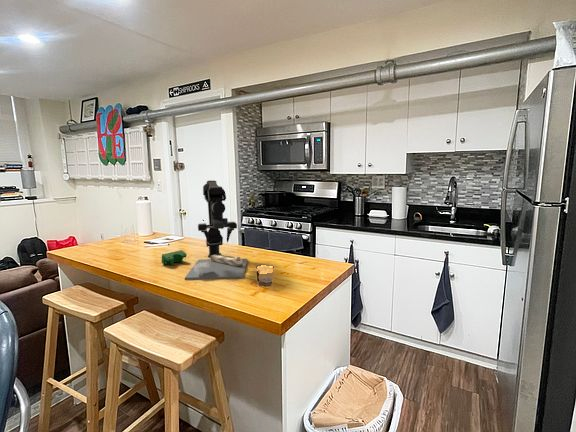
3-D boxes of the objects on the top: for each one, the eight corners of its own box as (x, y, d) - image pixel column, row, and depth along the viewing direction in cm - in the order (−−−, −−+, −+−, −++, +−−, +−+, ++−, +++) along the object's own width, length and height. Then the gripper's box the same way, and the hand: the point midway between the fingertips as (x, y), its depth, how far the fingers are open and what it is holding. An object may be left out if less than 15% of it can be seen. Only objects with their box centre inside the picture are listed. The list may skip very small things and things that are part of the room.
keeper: (208, 271, 151) (208, 261, 150) (214, 275, 146) (214, 264, 145) (193, 275, 147) (192, 264, 146) (199, 279, 141) (198, 268, 140)
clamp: (170, 274, 162) (164, 261, 157) (164, 269, 165) (158, 256, 160) (190, 261, 169) (185, 248, 164) (183, 256, 172) (179, 243, 167)
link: (244, 264, 158) (244, 256, 157) (239, 266, 154) (238, 258, 154) (215, 258, 168) (214, 251, 168) (209, 260, 165) (209, 253, 164)
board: (198, 261, 168) (198, 259, 168) (247, 260, 170) (247, 258, 170) (184, 279, 141) (184, 277, 141) (243, 278, 142) (242, 276, 142)
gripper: (197, 214, 145) (199, 247, 147) (238, 212, 151) (239, 244, 153) (197, 212, 156) (198, 243, 158) (234, 210, 162) (235, 240, 163)
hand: (218, 243), depth 158 cm, fingers open, 9 cm apart
